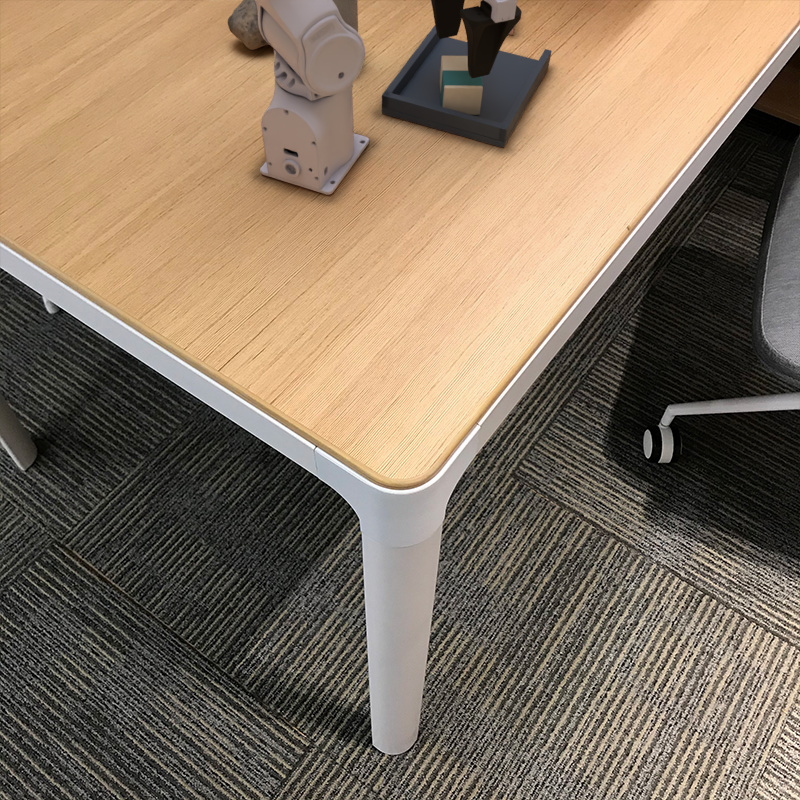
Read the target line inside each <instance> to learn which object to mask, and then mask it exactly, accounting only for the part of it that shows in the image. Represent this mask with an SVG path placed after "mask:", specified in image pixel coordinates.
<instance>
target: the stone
mask: <svg viewBox="0 0 800 800" xmlns="http://www.w3.org/2000/svg"><path fill="white" fill-rule="evenodd" d="M227 26H228V29H229V31H230V32H231V33H232V34H233V35H234V37H235V38H236V39H238V40H240V41H241V43H243V45H244V46H245V47H246V48H247V49H249V50H253V51H254V50H257V49H260V48H262V47H264V46H270V45H269V44H268V43H267V42H266V41H265V40H264V38H263V37H262V35H261V33H260V30H259V25H258V9H257V4H256V2H255V0H242V1H241V2H240V3H239V4H238V6H236V7H235V8H234V9H233V12H232V14H231V15H229V17H228V19H227Z"/></svg>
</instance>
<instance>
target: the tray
mask: <svg viewBox="0 0 800 800" xmlns="http://www.w3.org/2000/svg"><path fill="white" fill-rule="evenodd" d="M442 56H468V44H467V41H464V40H460V39H456V38H453V37H447V38H443V39H439V37H438V36H437V32H436V27H435V25H434V26H433V27H432V28H431V30H430V31H429V32H428V33H427V35H426V36H425V37H424V39H423V40H422V41H421V43H420V44H419V45H418V47H417V48H416V50H414V52H413V53H412V54H411V56H410V57H409V58H408V59H407V61H406V63H405V64H404V65H403V66H402V68H401V69H400V71H399V72H398V73H397V75H396V76H395V77H394V78H393V80H391V82H390V83H389V85H388V86H387V88H386V89H385V90H384V92H383V93H382V94H381V114H382V115H386V116H389V117H393V118H395V119H396V118H397V119H400V120H403V121H407V122H410V123H413V124H417V125H421V126H425V127H427V128H432V129H435V130H438V131H442V132H445V133H449V134H452V135H456V136H460V137H463V138H467V139H471V140H474V141H478V142H480V143H485V144H488V145H491V146H494V147H495V146H496V147H498V148H502V149H504V148H505V147H506V145H507V143H508V141H509V140H510V138H511V136H512V134H513V132H514V131H515V129H516V127H517V125H518V123H519V122H520V119H521V118H522V116H523V115H524V113H525V111H526V110H527V108H528V106H529V104H530V102H531V100H532V98H533V97H534V95H535V93H536V91H537V90H538V87H539V86H540V84H541V82H542V81H543V79H544V77H545V76H546V73H547V72H548V70H549V67H550V61H551V56H552V50H551V49H548V48H544V50H543V51H542V53H541V55H540V57H539V59H535V58H531V57H528V56H523V55H521V54H520V55H519V54H515V53H511V52H508V51H503V50H499V52H498V55H497V57H496V59H495V62H494V64H493V67H492V69H491V71H490V74H489V75H485V76H482V82H483V91H482V99H481V107H480V114H479V115H469V114H466V113H462V112H458V111H455V110H451V109H448V108H444V107H441V98H440V97H441V92H440V70H441V57H442Z"/></svg>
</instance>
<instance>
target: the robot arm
mask: <svg viewBox="0 0 800 800" xmlns="http://www.w3.org/2000/svg"><path fill="white" fill-rule="evenodd" d="M255 2H256V4H257V9H258V25H259V30H260V33H261V35H262V37H263V38H264V40H265V41H266V42H267V43H268V44H269V45H268V46H270V47H271V48H273V55H274V61H273V74H274V75H273V76H274V90H273V94H272V95H273V96H272V98H271V101H270V103H269V105H268V107H267V108H266V110H265V112H264V113H263V114H262V118H261V122H260V124H261V125H260V126H261V127H260V128H261V134H262V141H263V147H264V148H263V149H264V155H265V162H264V163H263V165H262V166H261V167H260V168H259V172H260V174H261V175H263V176H266V177H269V178H272V179H275V180H278V181H282V182H285V183H289V184H292V185H295V186H298V187H301V188H305V189H308V190H311V191H314V192H318V193H320V194H324V195H327V196H329V195H332V194H333V193H334V192H335V190H336V189H337V188H338V187H339V185H340V183H341V182H342V181H343V179H344V178H345V177H346V175H347V174H348V173H349V171H350V170H351V169H352V167H353V166H354V164H355V163H356V162H357V160H358V159H359V157H360V156H361V155H362V154H363V152H364V151H365V149H366V148H367V147H368V145H369V144H370V138H369V137H368V136H366V135H361V134H358V133H355V130H354V126H355V125H354V96H353V94H354V93H353V92H354V91H353V88H354V83H355V81H356V80H357V79H358V77H359V75H360V74H361V72H362V69H363V68H364V64H365V61H366V47H365V42H364V40H363V38H362V36H361V35H360V33H359V31H358V32H357V31H356V30H355V29H353V28H352V27H351V26H349V25H348V24H346V23H345V22H344V21H343V19H342V17H341V15H340V13H339V11H338V8H337V6H336V5H335V3H334V2H333V0H255ZM430 2H431V7H432V14H433V20H434V26H435V27H436V32H437V36H438V37H439V39H443V38H447V37H449V38H453V37H455V36H458V34H459V30H460V28H461V23H463V26H464V30H465V35H466V42H467V44H468V72H469V75H470V76H471V78H477V77H481V76H485V75H489V74H490V71H491V69H492V67H493V64H494V62H495V59H496V57H497V55H498V52H499V50H500V49H501V48H502V46H503V44H504V43H505V40H507V37H508V36H509V35H508V34H509V33H510V31H511V30H512V29H513V28H514V29H515V27H516V25H518V23H519V22H520V21H521V19H522V9H521V8H520V7H519V6H518V5H517V4H518V0H480V2H479V3H480V4H479V5H476V6H472V7H471V6H470V7H466V8H464V6H465V2H466V0H430ZM500 51H501V50H500Z"/></svg>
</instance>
